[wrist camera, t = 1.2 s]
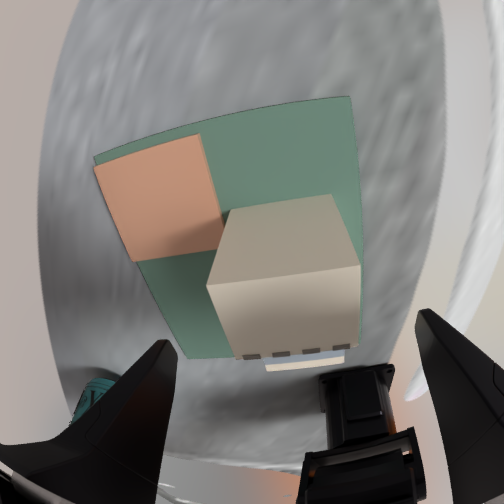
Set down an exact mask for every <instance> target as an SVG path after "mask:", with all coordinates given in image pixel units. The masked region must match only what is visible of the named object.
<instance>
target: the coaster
mask: <svg viewBox="0 0 504 504" xmlns="http://www.w3.org/2000/svg"><path fill="white" fill-rule="evenodd" d="M93 168H94V171H95V174H96V177H97V179H98V182H99V185H100V187H101V190H102V193H103V195H104V198H105V200H106V203H107V205H108V208H109V210H110V213H111V215H112V217H113V220H114V222H115V224H116V227H117V229H118V231H119V234H120V236H121V238H122V241H123V243H124V245H125V247H126V249H127V252H128V254H129V256H130V258H131V260H132V262H136V261H142V260H149V259H155V258H162V257H168V256H175V255H181V254H188V253H195V252H201V251H208V250H215V249H218V247H219V243H220V240H221V237H222V234H223V231H224V228H225V223H224V219H223V216H222V212H221V209H220V205H219V202H218V198H217V195H216V191H215V188H214V184H213V181H212V177H211V173H210V170H209V166H208V162H207V159H206V155H205V152H204V148H203V144H202V141H201V137H200V133H197V134H193V135H189V136H185V137H182V138H178V139H175V140H171V141H168V142H164V143H161V144H158V145H154V146H151V147H148V148H145V149H142V150H139V151H136V152H133V153H130V154H127V155H124V156H121V157H118V158H115V159H112V160H110V161H107V162H104V163H102V164H99V165H97V166H95V167H93Z"/></svg>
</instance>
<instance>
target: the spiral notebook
mask: <svg viewBox="0 0 504 504" xmlns="http://www.w3.org/2000/svg"><path fill="white" fill-rule="evenodd" d="M263 361H264V364H265V367H266V370H267V371H279V370H290V369H300V368H309V367H317V366H325V365H333V364H340V363H344V349H343V350H337V351H333V350H330V351H323V352H320V353H314V354H306V355H303V354H298V355H290V356H287V357H277V358H273V357H266V358H263Z"/></svg>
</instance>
